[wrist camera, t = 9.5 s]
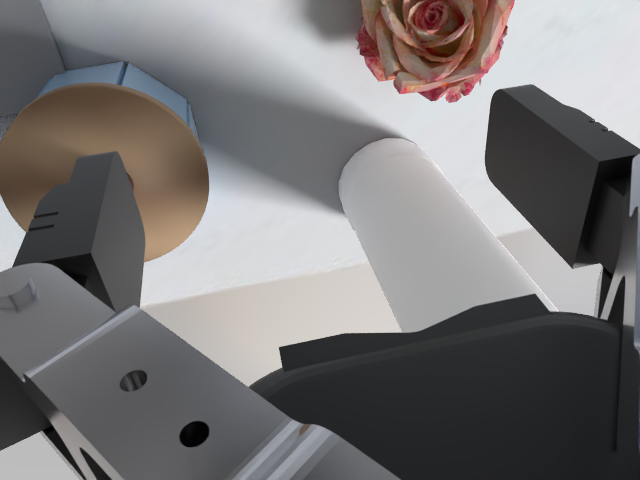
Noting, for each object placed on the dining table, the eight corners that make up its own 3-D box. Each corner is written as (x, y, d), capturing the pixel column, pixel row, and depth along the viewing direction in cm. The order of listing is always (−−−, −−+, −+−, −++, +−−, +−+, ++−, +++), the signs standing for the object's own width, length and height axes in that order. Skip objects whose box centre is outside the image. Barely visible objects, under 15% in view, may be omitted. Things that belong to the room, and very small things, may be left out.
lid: (-39, 102, 30) (-83, 147, 25) (182, 65, 31) (181, 101, 26) (48, 273, 37) (27, 335, 32) (225, 237, 38) (231, 291, 33)
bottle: (319, 207, 44) (485, 625, 20) (366, 120, 40) (637, 496, 16) (400, 234, 47) (630, 624, 23) (450, 156, 44) (781, 515, 19)
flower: (531, -6, 36) (545, -46, 28) (469, 125, 38) (467, 121, 31) (397, -53, 38) (377, -103, 30) (346, 75, 40) (316, 59, 33)
